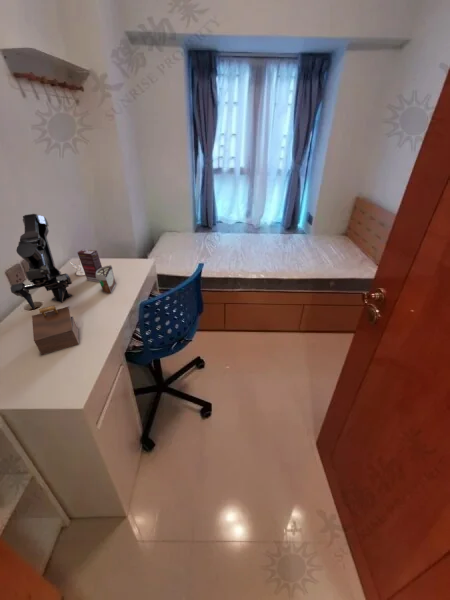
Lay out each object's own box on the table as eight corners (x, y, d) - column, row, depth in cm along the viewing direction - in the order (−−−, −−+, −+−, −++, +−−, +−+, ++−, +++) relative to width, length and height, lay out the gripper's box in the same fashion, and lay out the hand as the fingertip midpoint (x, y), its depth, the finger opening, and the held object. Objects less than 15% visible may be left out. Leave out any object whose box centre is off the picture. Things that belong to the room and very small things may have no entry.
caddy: (43, 338, 109) (37, 325, 106) (78, 328, 113) (72, 316, 110) (41, 355, 101) (34, 342, 98) (78, 344, 105) (73, 331, 102)
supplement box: (106, 277, 149) (97, 250, 140) (100, 282, 145) (90, 254, 136) (93, 276, 151) (83, 248, 143) (86, 280, 147) (76, 252, 139)
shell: (95, 272, 154) (90, 257, 149) (71, 277, 151) (65, 261, 145) (95, 266, 161) (90, 251, 156) (73, 270, 158) (67, 255, 152)
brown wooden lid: (32, 316, 103) (27, 309, 100) (69, 307, 108) (65, 300, 104) (34, 341, 98) (28, 334, 94) (73, 330, 102) (68, 324, 98)
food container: (104, 283, 144) (98, 265, 138) (116, 282, 144) (111, 264, 139) (97, 296, 134) (91, 277, 128) (110, 294, 134) (104, 276, 128)
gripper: (-2, 265, 95) (9, 308, 93) (59, 253, 101) (70, 293, 99) (13, 275, 105) (22, 314, 103) (67, 264, 112) (77, 301, 110)
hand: (47, 306), depth 103 cm, fingers open, 9 cm apart
